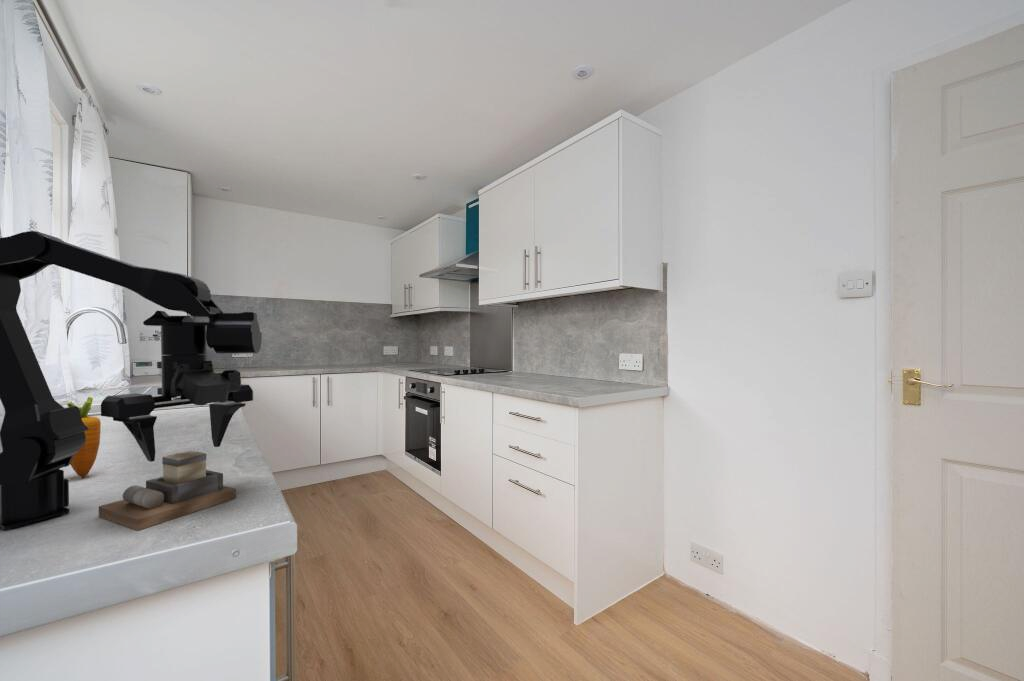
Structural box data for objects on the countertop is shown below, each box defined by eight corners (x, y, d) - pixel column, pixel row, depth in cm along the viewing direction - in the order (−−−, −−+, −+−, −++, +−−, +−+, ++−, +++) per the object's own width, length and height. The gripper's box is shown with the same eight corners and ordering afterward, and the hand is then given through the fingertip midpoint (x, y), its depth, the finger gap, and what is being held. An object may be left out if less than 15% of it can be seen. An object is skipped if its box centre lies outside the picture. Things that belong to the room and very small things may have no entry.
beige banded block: (177, 499, 65) (177, 459, 65) (162, 495, 67) (162, 456, 67) (206, 490, 69) (206, 453, 69) (192, 486, 70) (191, 450, 70)
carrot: (66, 483, 77) (65, 400, 77) (62, 478, 80) (61, 398, 80) (104, 476, 81) (103, 397, 81) (98, 471, 84) (97, 395, 84)
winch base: (138, 530, 58) (137, 500, 58) (98, 516, 62) (98, 489, 62) (236, 498, 69) (235, 473, 69) (196, 488, 74) (196, 465, 74)
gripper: (139, 358, 56) (140, 477, 56) (273, 353, 73) (274, 445, 73) (98, 357, 61) (99, 467, 61) (232, 352, 77) (234, 439, 77)
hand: (186, 453), depth 68 cm, fingers open, 9 cm apart
